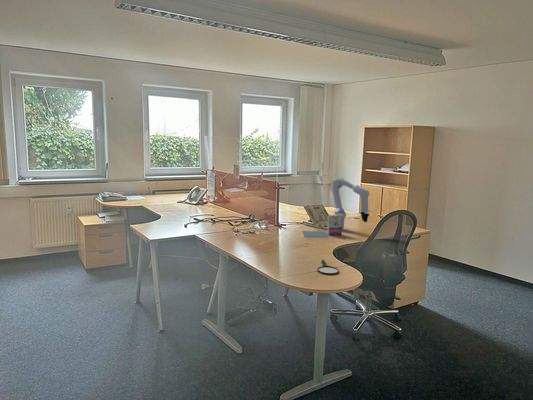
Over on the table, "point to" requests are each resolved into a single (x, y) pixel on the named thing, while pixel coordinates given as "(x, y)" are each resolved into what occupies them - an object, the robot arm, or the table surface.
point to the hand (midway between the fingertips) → (364, 221)
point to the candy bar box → (334, 225)
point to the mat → (314, 234)
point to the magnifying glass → (327, 269)
